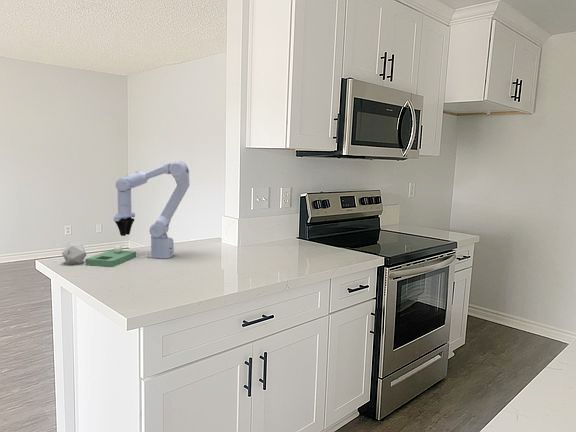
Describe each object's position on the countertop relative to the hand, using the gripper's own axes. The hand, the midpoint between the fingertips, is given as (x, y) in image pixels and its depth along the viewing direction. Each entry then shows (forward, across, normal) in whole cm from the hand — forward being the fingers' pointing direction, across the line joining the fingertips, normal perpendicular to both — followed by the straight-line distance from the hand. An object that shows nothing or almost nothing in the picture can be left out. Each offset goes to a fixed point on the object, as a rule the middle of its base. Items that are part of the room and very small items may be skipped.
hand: (125, 235), depth 204 cm
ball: (+5, +6, 0) cm, 8 cm away
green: (+9, +11, 0) cm, 14 cm away
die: (+10, +19, -12) cm, 24 cm away
